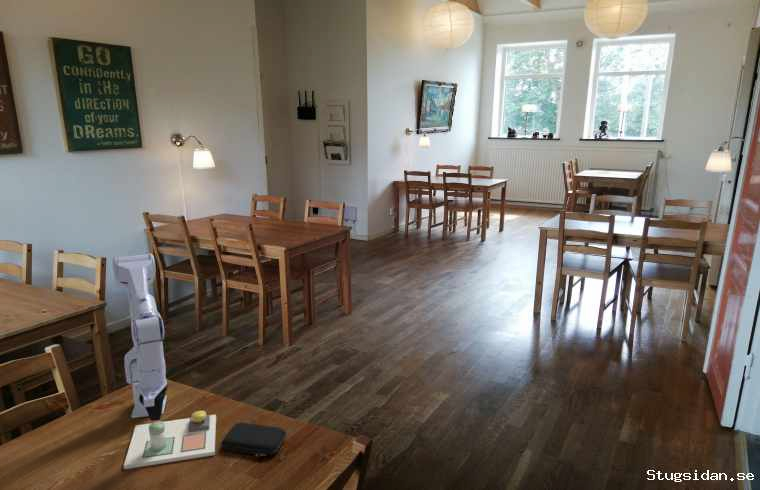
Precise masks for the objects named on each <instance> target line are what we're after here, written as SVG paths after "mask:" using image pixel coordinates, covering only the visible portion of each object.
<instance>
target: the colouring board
mask: <svg viewBox="0 0 760 490" xmlns="http://www.w3.org/2000/svg"><path fill="white" fill-rule="evenodd" d="M163 422H164V425H165V438H166V447H165V448H164V449H163V450H161V451H152V450H151V443H150V434H149V425H150V424H151V423H145V424H136V425H135V427H134V430H133V434H132V437H131V440H130V442H129V447H128V451H127V454H126V456H125V460H124V463H123V470H128V469H129V470H130V469H135V468H141V467H147V466H148V467H149V466H154V465H160V464H166V463H171V462H172V463H173V462H178V461H186V460H191V459H197V458H204V457H210V456H215V454H216V453H215V452H216V451H215V450H216V429H217V428H216V427H217V414H206V419H205V420H203V421H202V422H201V423H196V422H194V421H192V416H191V417H188V418H180V419H174V420H173V419H172V420H167V421H163Z"/></svg>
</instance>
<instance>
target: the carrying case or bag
mask: <svg viewBox="0 0 760 490" xmlns="http://www.w3.org/2000/svg"><path fill="white" fill-rule="evenodd" d="M286 437H287V431H285V429H283V428H281V427H277V426H270V425H264V424H263V425H262V424H256V423H250V422H249V423H246V422H237V423H235V424H234V425H233V426H232V427H231V428H230V430H229V431H228V432H227V434H226V435H225V436H224V437H223V439H222V440H221V443H220V445H221V447H222V449H224V450H225V451H231V452H237V453H244V454H250V455H251V454H252V455H254V457H256V458H258V457H271V456H274V455H275V454H276V453H277V452H278V451H279V449H280V448H281V445H282V444H283V442H284V441H285V439H286Z"/></svg>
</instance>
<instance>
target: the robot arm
mask: <svg viewBox="0 0 760 490" xmlns="http://www.w3.org/2000/svg"><path fill="white" fill-rule="evenodd" d="M112 269H113V275H114V276H113V277H114V281H115V282H114V283H115V285H116V287H118V288H122V289H124V290H125V292H126V294H127V297H128V298H127V299H128V306H129V315H130V323H131V324H130V329H131V338H132V343H133V347H132V348H131V349H130V350H129V351H128V352H126V354H125V355H124V357H123V358H124V370H125V371H124V372H125V378H126V379H125V380H126V383H128V384H129V385H132V396H133V404H134V407H133V410H132V413H131V419H135V418H136V419H137V418H143V417H144V418H145V417H149V421H151V422H156V421H159V420H161V416H162V415H163V414H164V411H165V407H166V402H167V397H168V395H167V393H166V392H167V390H168V386H169V385H168V380H167V378H166V374H167V369H166V368H167V367H166V360H165V357H164V355H165V354H164V346H163V345H164V344H163V340H164V339H165V327H164V321H163V318H162V316H161V314H160V312H158V309H157V304H156V299H155V297H154V296H153V295H152V294H150V293H149V287H148V285H150V284H153V283H154V280H155V277H156V271H157V270H156V261H155V256H154V255H153V254H152V253H146V254H138V255H137V254H136V255H128V256H119V257H117V256H114V257H113V258H112Z"/></svg>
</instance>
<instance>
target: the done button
mask: <svg viewBox="0 0 760 490" xmlns="http://www.w3.org/2000/svg"><path fill="white" fill-rule="evenodd" d="M206 415H207V412H206V411H205V410H196V411H194V412H193V413H191V417H192V421H194V422H196V423H201V422H202V421H203V420H205V419H206Z"/></svg>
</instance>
